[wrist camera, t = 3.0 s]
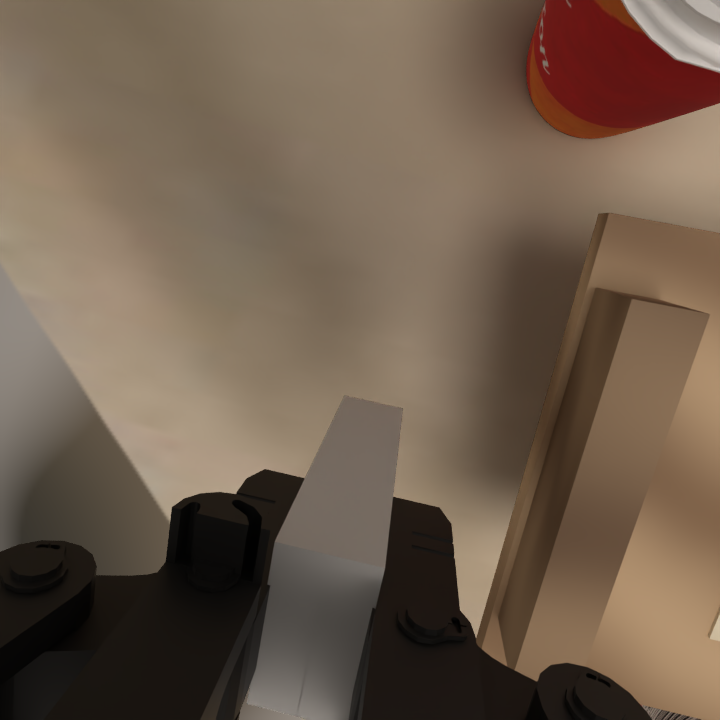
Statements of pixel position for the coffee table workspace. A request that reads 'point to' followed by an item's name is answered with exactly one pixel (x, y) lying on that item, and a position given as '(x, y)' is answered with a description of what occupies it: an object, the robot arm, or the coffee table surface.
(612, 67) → the paper cup
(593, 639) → the wooden box lid
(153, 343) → the coffee table surface
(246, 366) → the coffee table surface
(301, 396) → the coffee table surface
